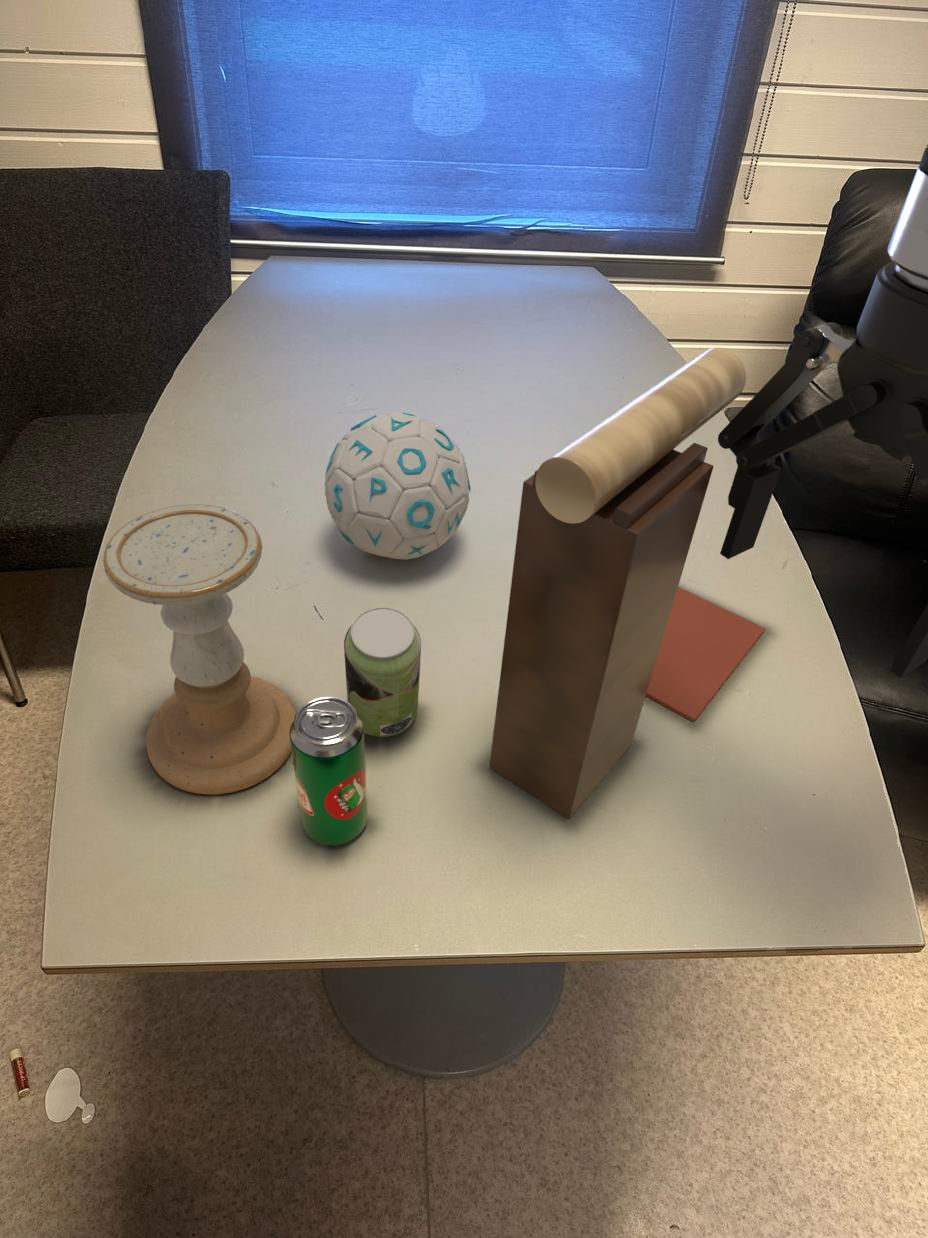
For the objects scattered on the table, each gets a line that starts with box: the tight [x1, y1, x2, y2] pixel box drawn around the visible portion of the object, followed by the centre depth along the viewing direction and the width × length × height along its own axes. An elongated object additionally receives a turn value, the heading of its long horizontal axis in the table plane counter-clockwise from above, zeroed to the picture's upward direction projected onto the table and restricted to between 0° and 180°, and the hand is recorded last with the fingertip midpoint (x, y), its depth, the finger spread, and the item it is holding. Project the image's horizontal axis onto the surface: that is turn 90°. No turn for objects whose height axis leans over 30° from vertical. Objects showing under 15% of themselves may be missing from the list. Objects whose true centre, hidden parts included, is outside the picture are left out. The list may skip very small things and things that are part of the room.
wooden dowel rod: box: [535, 347, 747, 523], centre depth 52 cm, size 20×4×4 cm, turn 142°
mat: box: [646, 586, 766, 723], centre depth 81 cm, size 12×16×1 cm
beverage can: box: [343, 606, 422, 738], centre depth 68 cm, size 6×7×12 cm
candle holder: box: [102, 503, 297, 795], centre depth 63 cm, size 12×12×20 cm
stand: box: [489, 442, 714, 820], centre depth 60 cm, size 8×10×29 cm
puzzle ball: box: [324, 412, 472, 561], centre depth 86 cm, size 15×15×15 cm
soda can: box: [290, 696, 369, 846], centre depth 60 cm, size 5×5×12 cm
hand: (815, 604), depth 54 cm, fingers open, 13 cm apart
